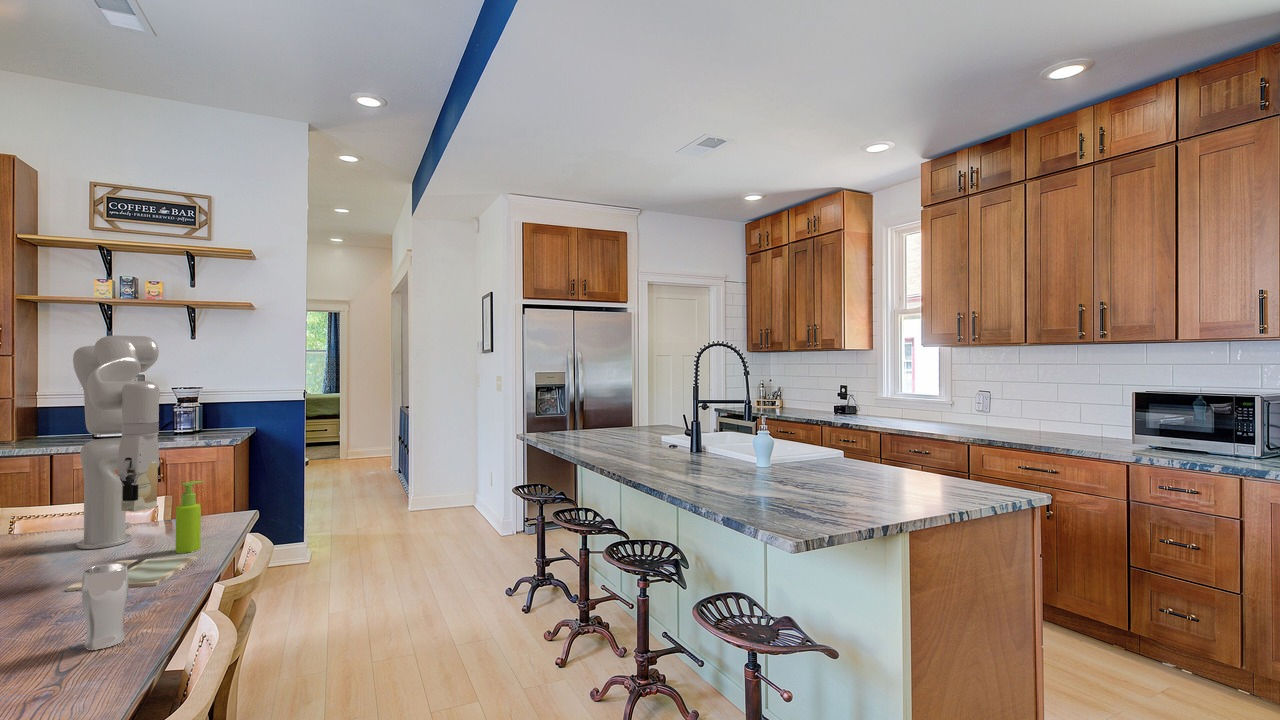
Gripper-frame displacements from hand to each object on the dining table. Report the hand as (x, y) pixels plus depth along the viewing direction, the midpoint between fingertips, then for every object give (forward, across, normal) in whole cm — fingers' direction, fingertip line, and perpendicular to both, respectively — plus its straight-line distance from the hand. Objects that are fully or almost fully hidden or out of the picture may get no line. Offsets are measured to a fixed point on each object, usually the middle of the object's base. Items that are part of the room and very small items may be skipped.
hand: (139, 496), depth 160 cm
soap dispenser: (+20, -19, +3) cm, 28 cm away
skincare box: (+4, 0, 0) cm, 4 cm away
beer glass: (+21, +43, +17) cm, 51 cm away
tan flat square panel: (+20, +1, 0) cm, 20 cm away
